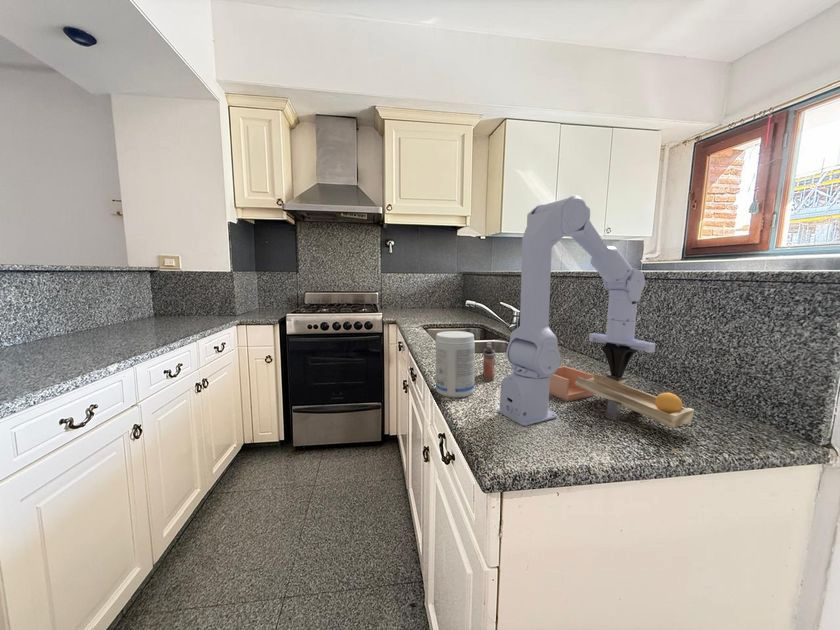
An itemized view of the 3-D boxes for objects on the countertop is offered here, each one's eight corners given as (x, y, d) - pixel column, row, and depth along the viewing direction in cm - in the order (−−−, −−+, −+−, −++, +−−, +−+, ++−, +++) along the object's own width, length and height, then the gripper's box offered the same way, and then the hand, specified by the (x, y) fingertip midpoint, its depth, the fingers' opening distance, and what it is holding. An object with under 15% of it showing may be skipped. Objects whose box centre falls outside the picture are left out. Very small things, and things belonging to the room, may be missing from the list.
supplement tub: (474, 386, 84) (475, 331, 82) (473, 400, 75) (475, 338, 73) (437, 384, 86) (438, 330, 84) (432, 397, 77) (433, 336, 75)
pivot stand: (616, 421, 64) (617, 404, 64) (606, 417, 66) (607, 400, 66) (644, 412, 68) (646, 396, 68) (634, 409, 70) (636, 393, 70)
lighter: (494, 382, 88) (496, 346, 87) (482, 381, 89) (483, 345, 88) (494, 373, 96) (495, 340, 95) (482, 372, 97) (483, 340, 95)
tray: (568, 401, 74) (569, 380, 74) (537, 389, 83) (538, 370, 82) (594, 395, 78) (596, 375, 78) (563, 384, 87) (564, 366, 86)
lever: (672, 427, 57) (675, 415, 56) (575, 384, 74) (576, 375, 74) (710, 414, 62) (712, 403, 62) (611, 377, 80) (613, 368, 80)
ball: (672, 420, 58) (676, 399, 57) (648, 410, 61) (652, 390, 60) (684, 416, 59) (689, 396, 59) (660, 406, 63) (664, 387, 62)
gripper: (665, 322, 71) (659, 382, 73) (603, 315, 84) (599, 366, 85) (646, 324, 68) (641, 386, 69) (584, 316, 81) (581, 369, 82)
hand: (616, 375), depth 77 cm, fingers closed, pressing on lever
